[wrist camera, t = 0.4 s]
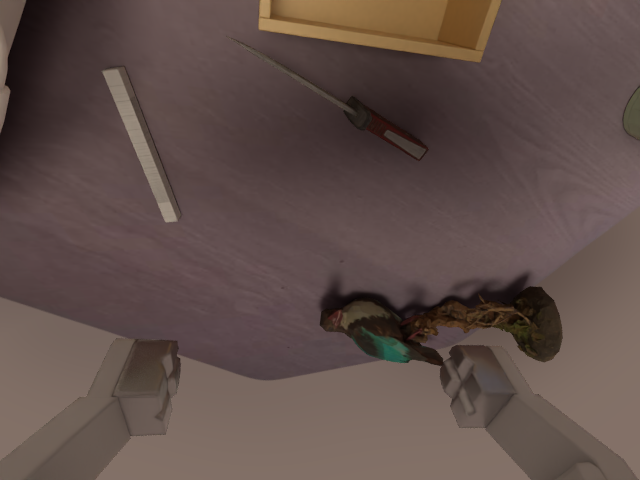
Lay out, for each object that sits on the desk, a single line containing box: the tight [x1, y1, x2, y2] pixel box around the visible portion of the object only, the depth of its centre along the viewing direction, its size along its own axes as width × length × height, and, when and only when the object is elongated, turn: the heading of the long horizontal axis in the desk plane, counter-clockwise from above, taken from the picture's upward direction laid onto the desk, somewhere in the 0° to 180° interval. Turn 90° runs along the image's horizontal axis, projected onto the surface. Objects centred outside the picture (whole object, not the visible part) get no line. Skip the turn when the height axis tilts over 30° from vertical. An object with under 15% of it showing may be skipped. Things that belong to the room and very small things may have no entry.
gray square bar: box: [102, 66, 181, 222], centre depth 28 cm, size 12×1×1 cm, turn 6°
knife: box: [226, 36, 429, 161], centre depth 25 cm, size 17×1×5 cm, turn 58°
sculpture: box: [320, 286, 562, 366], centre depth 39 cm, size 8×14×25 cm
